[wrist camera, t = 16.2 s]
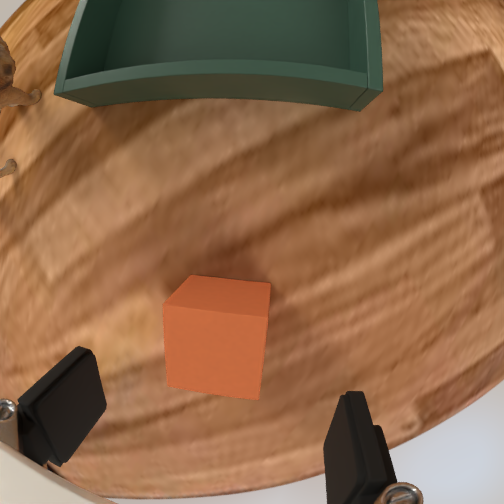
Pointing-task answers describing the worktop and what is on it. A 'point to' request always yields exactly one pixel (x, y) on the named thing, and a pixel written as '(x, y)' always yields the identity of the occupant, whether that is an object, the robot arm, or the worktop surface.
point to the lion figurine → (11, 93)
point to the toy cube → (216, 336)
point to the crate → (223, 51)
